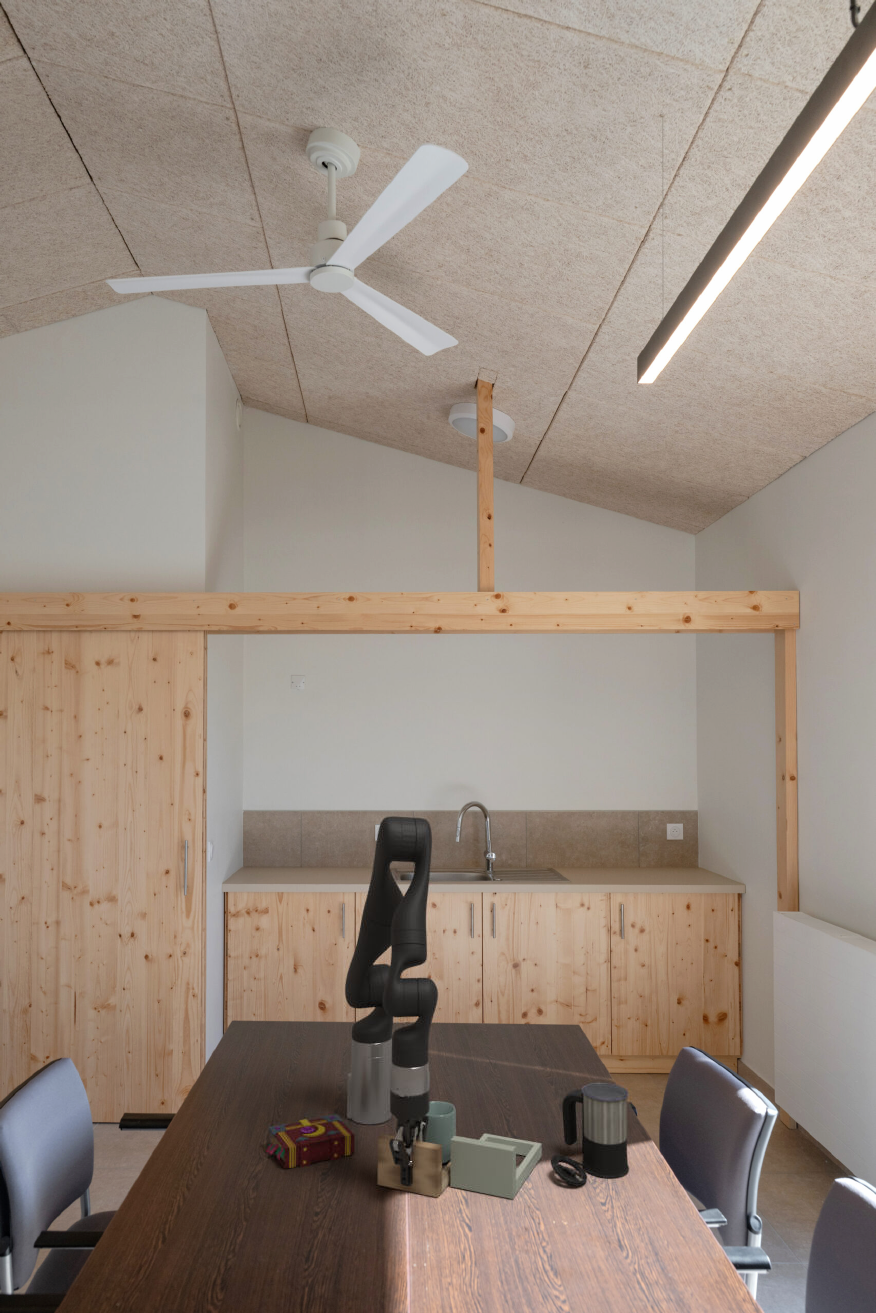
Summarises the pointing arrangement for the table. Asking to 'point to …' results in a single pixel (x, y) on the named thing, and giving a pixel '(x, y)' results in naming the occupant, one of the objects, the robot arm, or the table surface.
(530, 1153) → the frame
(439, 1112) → the cup
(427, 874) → the robot arm
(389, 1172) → the wooden drawer
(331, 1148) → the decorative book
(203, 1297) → the table surface
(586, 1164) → the milk frother
